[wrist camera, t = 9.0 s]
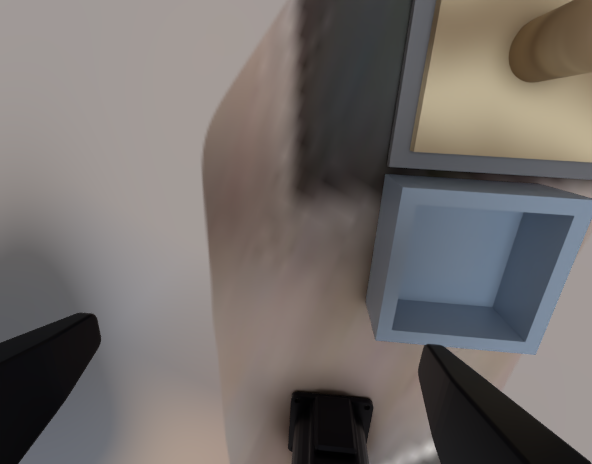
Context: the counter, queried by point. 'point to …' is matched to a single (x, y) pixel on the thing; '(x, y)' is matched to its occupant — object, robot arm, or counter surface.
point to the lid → (508, 80)
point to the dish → (471, 261)
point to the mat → (452, 162)
